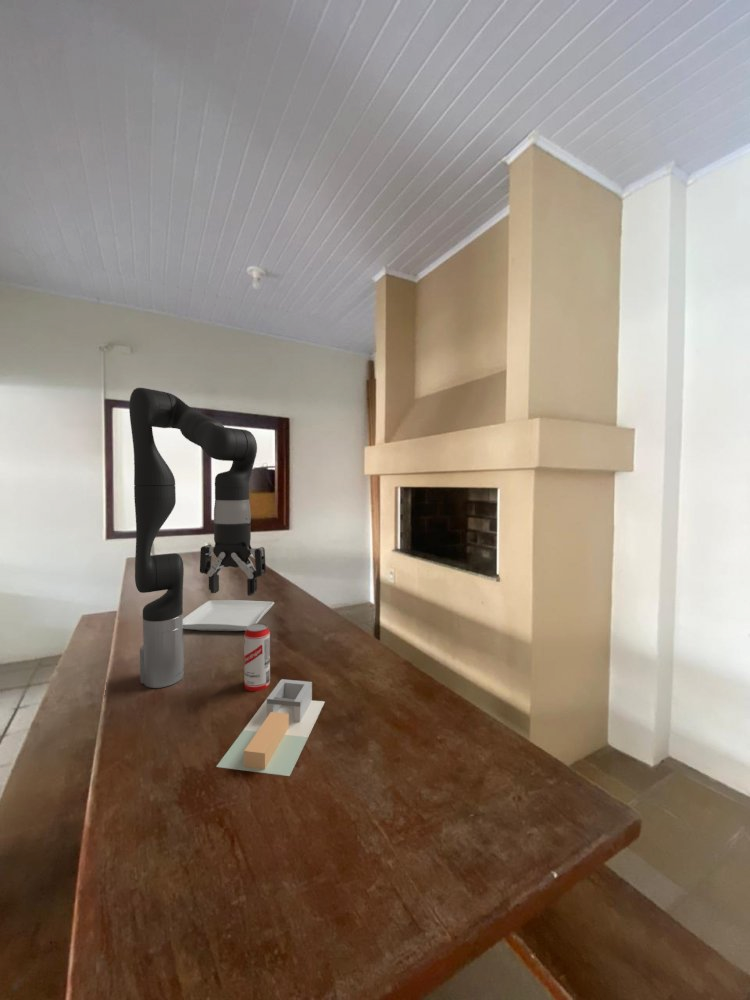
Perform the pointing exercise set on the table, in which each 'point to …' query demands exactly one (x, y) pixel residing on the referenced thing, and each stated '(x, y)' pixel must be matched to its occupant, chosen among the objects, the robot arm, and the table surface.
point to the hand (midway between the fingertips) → (233, 593)
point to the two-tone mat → (302, 718)
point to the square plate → (226, 615)
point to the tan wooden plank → (266, 740)
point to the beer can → (257, 657)
